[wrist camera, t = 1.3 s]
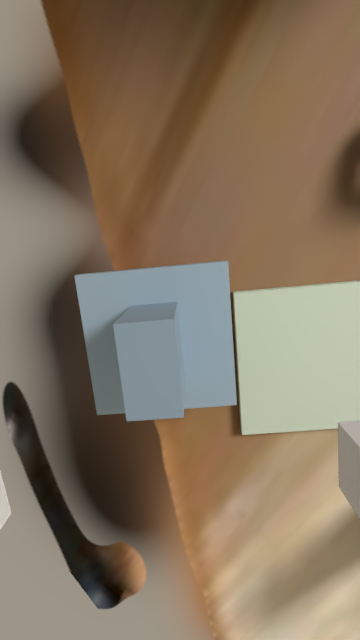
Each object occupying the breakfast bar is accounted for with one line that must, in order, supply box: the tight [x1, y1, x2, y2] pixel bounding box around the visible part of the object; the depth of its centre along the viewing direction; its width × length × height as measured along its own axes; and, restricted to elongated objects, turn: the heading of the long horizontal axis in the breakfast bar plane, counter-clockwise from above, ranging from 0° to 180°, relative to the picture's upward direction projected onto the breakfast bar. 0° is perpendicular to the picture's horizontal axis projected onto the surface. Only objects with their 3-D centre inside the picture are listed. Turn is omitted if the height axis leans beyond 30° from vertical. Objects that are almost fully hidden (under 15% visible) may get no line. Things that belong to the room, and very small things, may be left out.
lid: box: [75, 261, 237, 421], centre depth 26 cm, size 13×13×8 cm
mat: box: [233, 280, 360, 435], centre depth 35 cm, size 16×14×1 cm
